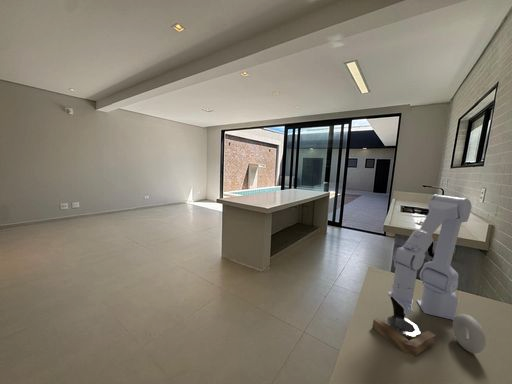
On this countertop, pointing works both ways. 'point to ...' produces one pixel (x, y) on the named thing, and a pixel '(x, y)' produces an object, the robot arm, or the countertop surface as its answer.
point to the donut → (476, 333)
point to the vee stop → (400, 341)
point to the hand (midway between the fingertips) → (398, 320)
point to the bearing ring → (403, 326)
